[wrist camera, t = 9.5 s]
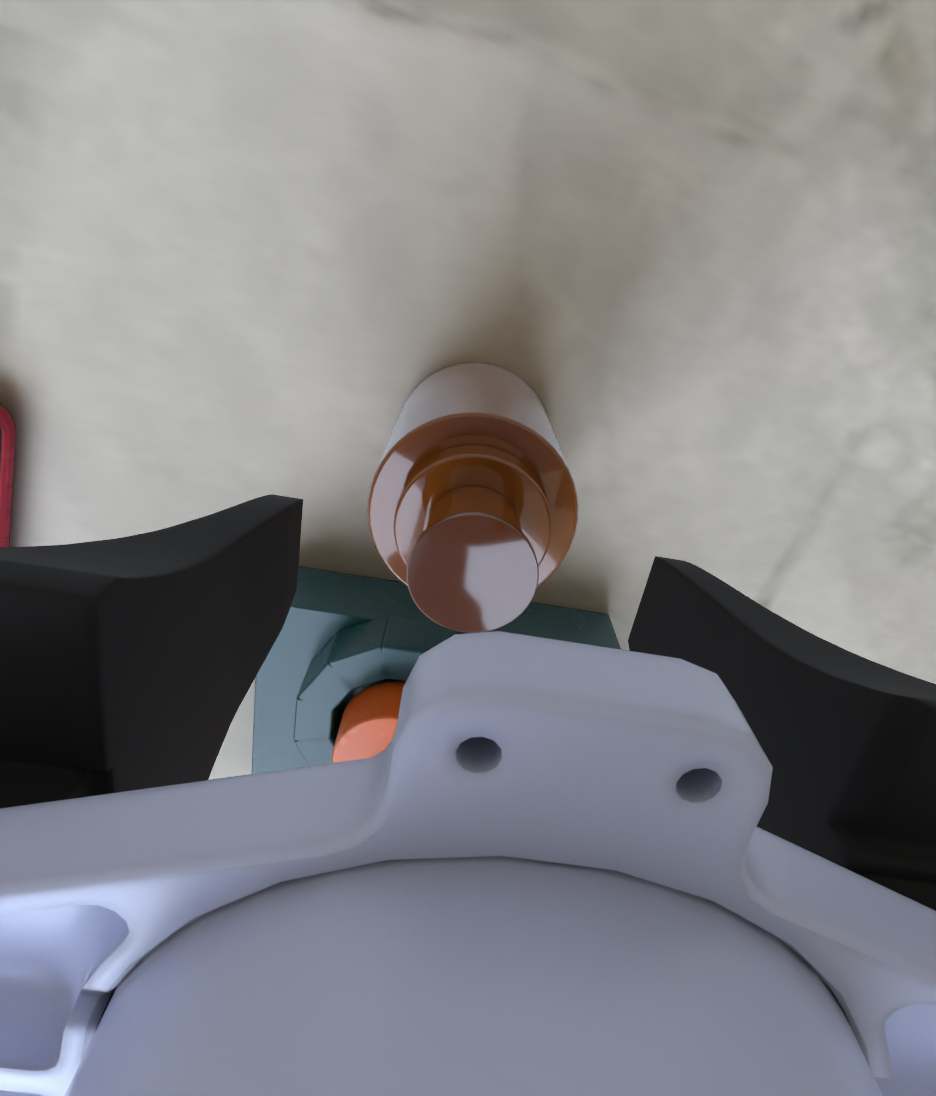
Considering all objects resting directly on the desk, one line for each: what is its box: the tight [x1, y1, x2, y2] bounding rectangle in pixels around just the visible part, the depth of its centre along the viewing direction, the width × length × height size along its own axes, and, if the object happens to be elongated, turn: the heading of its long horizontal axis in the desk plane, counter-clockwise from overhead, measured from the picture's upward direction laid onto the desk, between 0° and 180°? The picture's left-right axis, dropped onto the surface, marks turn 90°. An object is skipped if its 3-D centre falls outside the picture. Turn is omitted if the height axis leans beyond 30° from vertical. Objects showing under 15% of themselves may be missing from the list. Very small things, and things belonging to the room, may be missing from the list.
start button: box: [332, 681, 406, 763], centre depth 21 cm, size 4×4×2 cm
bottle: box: [368, 363, 578, 633], centre depth 17 cm, size 5×5×10 cm
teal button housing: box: [252, 567, 621, 774], centre depth 24 cm, size 12×9×4 cm
